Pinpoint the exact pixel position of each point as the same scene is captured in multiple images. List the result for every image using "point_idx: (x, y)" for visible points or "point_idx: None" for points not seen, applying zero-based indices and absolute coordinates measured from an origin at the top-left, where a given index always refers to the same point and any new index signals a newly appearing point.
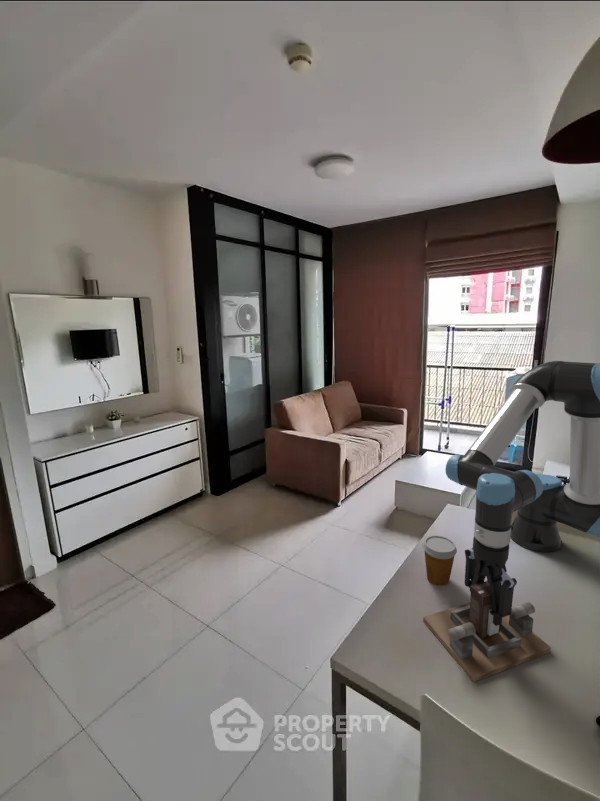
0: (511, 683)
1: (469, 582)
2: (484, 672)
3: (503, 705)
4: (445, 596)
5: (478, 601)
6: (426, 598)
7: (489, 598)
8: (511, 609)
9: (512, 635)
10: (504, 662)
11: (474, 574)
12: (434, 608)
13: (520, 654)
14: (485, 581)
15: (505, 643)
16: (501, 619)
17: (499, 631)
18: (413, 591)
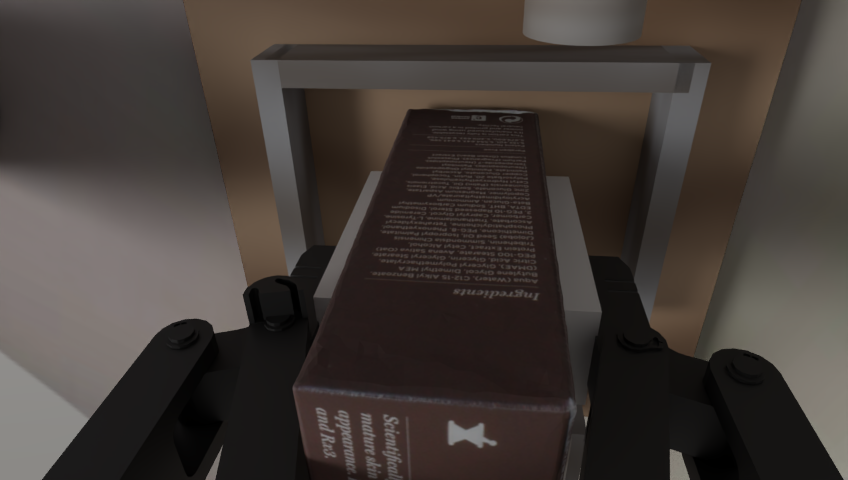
0: (783, 272)
1: (215, 440)
2: None
3: (821, 380)
4: (106, 155)
5: None
6: (119, 268)
7: None
8: (808, 421)
9: (637, 90)
10: (705, 248)
11: (145, 473)
12: (203, 278)
13: (733, 110)
14: (309, 451)
15: (665, 210)
16: (638, 299)
17: (538, 120)
18: (57, 296)
